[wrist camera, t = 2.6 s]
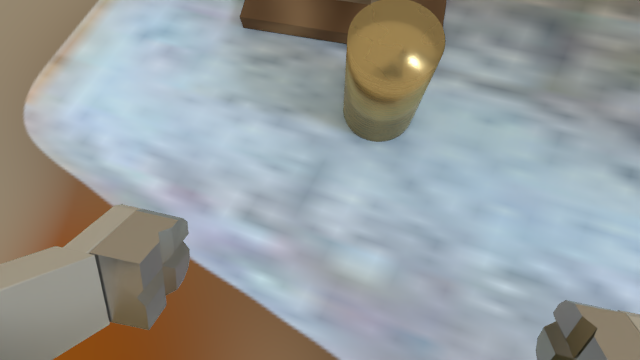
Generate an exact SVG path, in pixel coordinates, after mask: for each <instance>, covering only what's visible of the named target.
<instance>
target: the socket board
mask: <svg viewBox="0 0 640 360" xmlns="http://www.w3.org/2000/svg"><path fill="white" fill-rule="evenodd" d="M376 1H379V0H245V2H244V5H243V8H242V11H241V15H240V19H241V22H242V25H243V28H250V29H256V30H262V31H269V32H275V33H281V34H288V35H294V36H300V37H307V38H313V39H319V40H326V41H332V42H338V43H345V44H347V36H348V30H349V27H350V24H351V22H352V20H353V19H354V17H355V16H356V15H357V14H358V13H359V12H360V11H361V10H362V9H363V8H365V7H366V6H368V5H369V4H371V3H373V2H376ZM411 1H414V2H416V3H419V4H421V5H423V6H424V7H426V8H427V9H429V10H430V11H431V12H432V13H433V14H434V15H435V16H436V17H437V19H438V20H439V22H440V23H441V25H442V28H443V21H444V14H445V7H446V0H411Z"/></svg>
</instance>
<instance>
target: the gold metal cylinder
mask: <svg viewBox="0 0 640 360" xmlns="http://www.w3.org/2000/svg"><path fill="white" fill-rule="evenodd" d="M444 48H445V34H444V30H443V28H442V25H441V23H440V22H439V20H438V19H437V17H436V16H435V15H434V14H433V13H432V12H431V11H430V10H429V9H427V8H426V7H424V6H423V5H421V4H419V3H416V2H414V1H411V0H379V1H376V2H373V3H371V4H369V5H368V6H366V7H365V8H363V9H362V10H361V11H360V12H359V13H358V14H357V15H356V16H355V17H354V19H353V20H352V22H351V24H350V27H349V30H348V36H347V54H346V72H345V89H344V107H343V112H344V117H345V120H346V122H347V124H348V126H349V127H350V129H351V130H352V131H353V132H354V133H355V134H357V135H358V136H360V137H362V138H364V139H366V140H370V141H376V142H382V141H388V140H391V139H394V138H396V137H398V136H399V135H401V134H402V133H403V132H404V131H405V130H406V129H407V128H408V126H409V124H410V122H411V120H412V118H413V116H414V114H415V112H416V110H417V108H418V105H419V103H420V101H421V99H422V97H423V95H424V93H425V91H426V89H427V86H428V84H429V82H430V80H431V78H432V76H433V74H434V72H435V70H436V67H437V65H438V63H439V61H440V59H441V57H442V54H443V52H444Z"/></svg>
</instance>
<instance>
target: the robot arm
mask: <svg viewBox="0 0 640 360" xmlns="http://www.w3.org/2000/svg"><path fill="white" fill-rule="evenodd" d="M187 235H188V224H187V221H186V220H185V219H183V218H180V217H175V216H171V215H167V214H163V213H159V212H154V211H150V210H146V209H140V208H136V207H132V206H128V205H123V204H120V205H115V206H114V207H112V208H111V209H110V210H109V211H107V212H106V213H105V214H104V215H102V216H101V217H100V218H99V219H98V220H96V221H95V222H94V223H93V224H91V225H90V226H89V227H88V228H86V229H85V230H84V231H83V232H82V233H80V234H79V235H78V236H77V237H75V238H74V239H73V240H72V241H70V242H69V243H68V244H67V245H65V246H64V247H63V248H61V247H57V246H55V247H52V248H48V249H45V250H42V251H40V252H36V253H33V254H30V255H27V256H24V257H21V258H18V259H15V260H12V261H9V262H6V263H3V264H0V360H52V359H54V358H56V357H57V356H59V355H61V354H62V353H64V352H65V351H67V350H69V349H70V348H72V347H74V346H75V345H77V344H78V343H80V342H82V341H83V340H85V339H86V338H88V337H90V336H91V335H93V334H95V333H96V332H98V331H99V330H101V329H103V328H104V327H106V326H107V325H109V324H110V322H113V323H118V324H123V325H128V326H132V327H137V328H142V329H147V330H149V329H150V328H151V326H152V325H153V324H154V322H155V321H156V319H157V318H158V316H159V315H160V314H161V312H162V311H163V309H164V308H165V306H166V297H165V296H166V295H167V294H169V293H171V292H173V291H175V290H177V289H178V287H179V286H180V284H181V283H182V281H183V280H184V277H185V274H186V272H187V269H188V265H189V259H190V254H189V248H188V247H187V246H186V244H185V243H184V242H183V240H184V239H185V238H186V236H187ZM553 314H554V317H555V320H556V322H554V323H552V324H550V325H547V326H545V327H544V328H543V329H542V331H541V333H540V335H539V336H538V338H537V346H536V356H537V360H640V314H635V313H630V312H624V311H619V310H618V311H615V310H611V309H607V308H602V307H597V306H592V305H587V304H582V303H578V302H573V301H568V300H565V301H563V302H562V303H560V304H559V305H558V306H557V308H556V309H555V311H554V312H553Z"/></svg>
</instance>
